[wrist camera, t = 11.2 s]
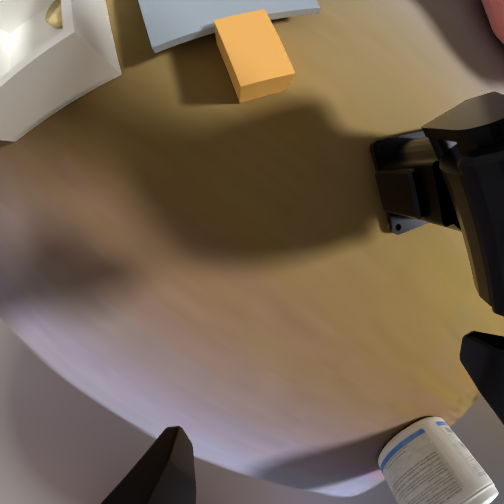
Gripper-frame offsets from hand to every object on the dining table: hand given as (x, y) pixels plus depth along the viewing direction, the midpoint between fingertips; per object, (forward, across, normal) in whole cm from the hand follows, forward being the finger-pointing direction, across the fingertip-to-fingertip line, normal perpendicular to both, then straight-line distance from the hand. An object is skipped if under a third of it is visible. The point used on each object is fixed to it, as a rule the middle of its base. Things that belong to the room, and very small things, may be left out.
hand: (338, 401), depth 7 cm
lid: (+12, -1, -20) cm, 23 cm away
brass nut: (+12, +10, -24) cm, 28 cm away
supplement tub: (+12, -12, +26) cm, 31 cm away
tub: (+12, +12, -21) cm, 27 cm away
